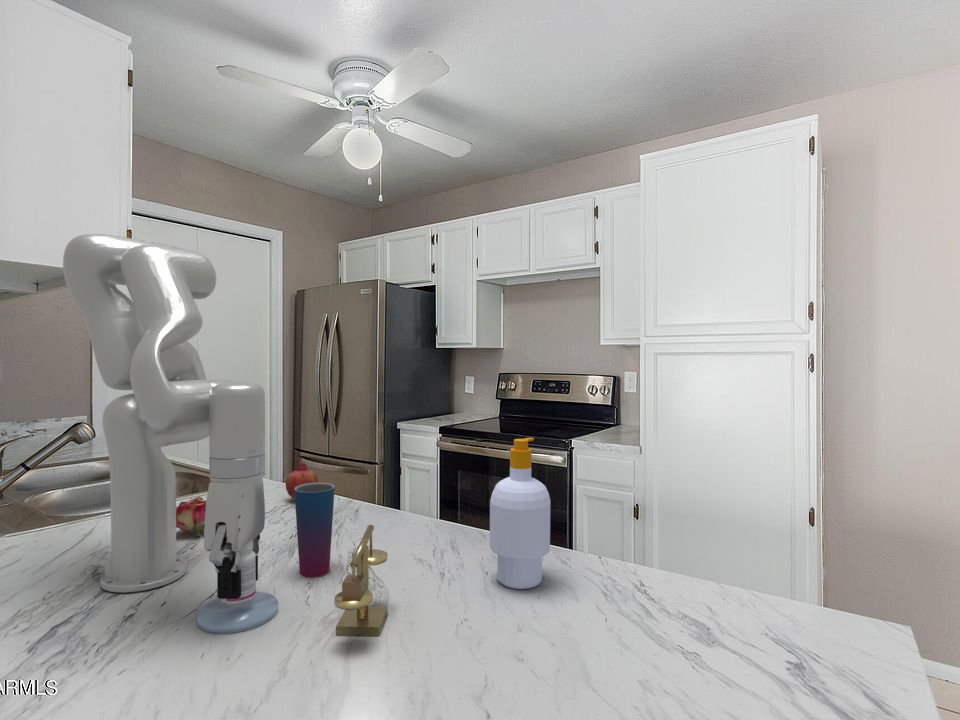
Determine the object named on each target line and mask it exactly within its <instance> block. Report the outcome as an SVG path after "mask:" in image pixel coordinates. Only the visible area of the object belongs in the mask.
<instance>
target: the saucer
mask: <svg viewBox="0 0 960 720" xmlns="http://www.w3.org/2000/svg"><path fill="white" fill-rule="evenodd" d="M278 612H279V600H278V598H277V597H276V596H274V595H273V594H271V593H268V592H265V591H256V594H255V596H254V597H253V598H252V599H250V600H248V601H246V602H243V603H238V604H227V603H224V602H223V601H222V600H221V599H219V598H218V597H217V598H215V599H212V600H211V601H209V602H207V603H205V604H204V605H203V606H201V608H200V609H199V610H198V611H197V613H196V624H197V627H198V628H199V629H200V630H201V631H203V632H206V633H210V634H217V635H218V634H219V635H226V634H227V635H228V634H237V633H240V632H241V633H243V632H246V631H249V630H250V631H251V630H253V629H256V628H259V627H260V626H263V625H265V624H266V623H268V622H270V621H272V619H274V618H275V617H276V616H277V614H278Z"/></svg>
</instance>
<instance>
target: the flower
mask: <svg viewBox="0 0 960 720" xmlns="http://www.w3.org/2000/svg"><path fill="white" fill-rule="evenodd" d="M206 501H207V499H204V498H203V497H201V496H198V497H196V498H191V499H189V500H187V501H181V502H179V505H177V506H176V529H179V530H180V531H181V532H182V534H183V533H184V534H190V533H191V534H193V532H195V535H196V536H195V537H196V538H198V539H199V538H201V532H204V529H205V512H206Z"/></svg>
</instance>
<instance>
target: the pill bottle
mask: <svg viewBox="0 0 960 720" xmlns="http://www.w3.org/2000/svg"><path fill="white" fill-rule="evenodd" d="M231 547H232V545H230V544H226V545H225V548H231ZM252 550H253V540H252V541H250V542H249V543H248V544H247V545H245V546H244V547H243V548H241V549H240V556H239V565H238V570H241V596H240V597H239V598H238V599H221V600H222V601H223V602H224V603H227V604H238V603H243V602H246V601H248V600H250V599H252V598H253V597H254V596H255V594H256V592H257V581H256V555H257V554H255V552H254V551H252ZM232 554H233V553H225V557H229V558H230V560H231V561H232Z"/></svg>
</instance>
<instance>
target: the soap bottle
mask: <svg viewBox="0 0 960 720" xmlns="http://www.w3.org/2000/svg"><path fill="white" fill-rule="evenodd" d="M534 440H535V437H525V438H514V439H513V447H512V448H510V450H509V476H507V477H505V478H504V479H502V480H499V481H498V482H497V483H496V484H495V486H494V489H493V490H492V493H491V497H490V501H489V549H490V550H491V551H492V553H494V554H495V555H497V563H496V564H497V567H496V568H497V570H496V571H497V573H496V574H497V575H496V577H497V580H498V581H499V583H500V584H501V585H503V586H504V587H507V588H509V589H510V588H511V589H515V590H516V589H517V590H526V589H532V588H535V587H537V586H538V585H540V584H541V582H542V576H543V573H542V572H543V557H544V556H546V555H547V554H549V552H550V551H551V549H550V548H551V497H550V494H549V491H548V489H547V487H546V485H545V484H543V483H542V482H541V481H539V480H538V479H536V478H534V477H532V448H529V442H533V441H534Z"/></svg>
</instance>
